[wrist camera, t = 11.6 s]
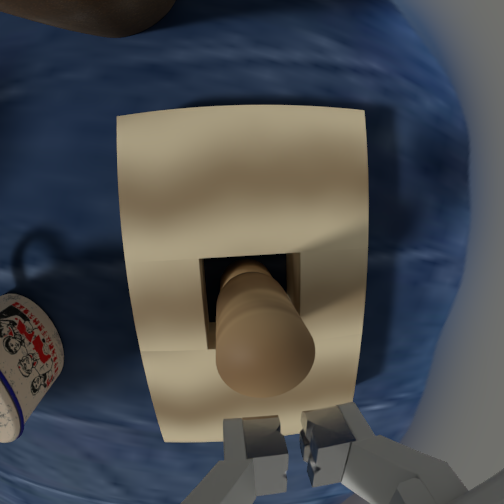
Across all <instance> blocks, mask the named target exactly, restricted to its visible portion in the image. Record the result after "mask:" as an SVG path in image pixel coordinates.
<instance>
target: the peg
mask: <svg viewBox="0 0 504 504" xmlns="http://www.w3.org/2000/svg"><path fill="white" fill-rule="evenodd" d="M314 360H315V344H314V340H313V338H312V336H311V334H310V332H309V330H308V329H307V327H306V325H305V324H304V322H303V320H302V319H301V317H300V316H299V314H298V312H297V311H296V309H295V307H294V306H293V304H292V302H291V301H290V299H289V298H288V296H287V294H286V293H285V291H284V289H283V288H282V286H281V285H280V284H279V283H278V282H277V281H276V280H275V279H273V277H272V276H271V274H270V272H269V271H268V269H267V268H266V267H265V266H264V265H263V264H262V263H261V262H259V261H257V260H254V259H249V258H244V259H239V260H236V261H234V262H232V263H231V264H229V265H228V266H227V267H226V268H225V270H224V271H223V273H222V275H221V278H220V293H219V295H218V299H217V304H216V367H217V370H218V373H219V375H220V377H221V379H222V380H223V381H224V382H225V384H227V385H228V386H229V387H230V388H231V389H233V390H234V391H236V392H238V393H240V394H242V395H245V396H249V397H255V398H267V397H274V396H277V395H281V394H283V393H286V392H288V391H290V390H291V389H293V388H295V387H296V386H297V385H299V384H300V383H301V382H302V381H303V380H304V379H305V378H306V376H307V375H308V374H309V372H310V370H311V368H312V366H313V363H314Z"/></svg>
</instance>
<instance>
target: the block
mask: <svg viewBox="0 0 504 504" xmlns="http://www.w3.org/2000/svg"><path fill="white" fill-rule="evenodd" d="M117 167H118V189H119V204H120V217H121V228H122V238H123V248H124V256H125V264H126V272H127V279H128V286H129V292H130V299H131V305H132V310H133V316H134V322H135V327H136V332H137V337H138V342H139V347H140V352H141V356H142V361H143V365H144V369H145V374H146V378H147V382H148V386H149V390H150V394H151V398H152V401H153V405H154V409H155V412H156V416H157V419H158V423H159V426H160V429H161V433H162V436H163V439H164V442H217V441H223V419H229V418H243V417H258V416H270V415H278V417H279V420H280V423H281V434H283V435H292V434H298V433H300V431H301V430H302V429H303V427H302V424H301V414H302V411H308V410H314V409H320V408H325V407H330V406H336V405H339V404H344V403H348V402H352V401H353V395H354V389H355V383H356V376H357V369H358V362H359V354H360V346H361V337H362V328H363V318H364V307H365V294H366V279H367V260H368V226H369V191H368V158H367V139H366V124H365V112H364V110H357V109H346V108H334V107H320V106H299V105H229V106H208V107H193V108H181V109H171V110H161V111H153V112H145V113H137V114H130V115H124V116H117ZM283 253H286V275H287V296H288V298H289V299H290V301H291V302H292V304H293V306H294V307H295V309H296V311H297V312H298V314H299V316H300V317H301V319H302V320H303V322H304V324H305V325H306V327H307V329H308V330H309V332H310V334H311V336H312V338H313V340H314V344H315V360H314V363H313V366H312V368H311V370H310V372H309V374H308V375H307V376H306V378H305V379H304V380H303V381H302V382H301V383H300V384H299V385H297V386H296V387H295V388H293V389H291V390H290V391H288V392H286V393H283V394H281V395H277V396H274V397H267V398H255V397H249V396H245V395H242V394H240V393H238V392H236V391H234V390H233V389H231V388H230V387H229V386H228V385H227V384H225V382H224V381H223V380H222V379H221V377H220V375H219V373H218V370H217V367H216V322H209V314H208V304H207V293H206V281H205V269H204V258H217V257H233V256H250V255H266V254H283Z"/></svg>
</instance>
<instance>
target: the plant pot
mask: <svg viewBox="0 0 504 504" xmlns="http://www.w3.org/2000/svg"><path fill="white" fill-rule="evenodd" d="M175 1H176V0H0V11H1V12H5V13H8V14H11V15H15V16H18V17H22V18H25V19H29V20H32V21H36V22H40V23H43V24H47V25H51V26H55V27H59V28H63V29H67V30H71V31H76V32H81V33H86V34H91V35H97V36H102V37H110V38H120V37H126V36H130V35H134V34H136V33H139V32H142V31H144V30H146V29H148V28H149V27H151V26H153V25H154V24H156V23H157V22H158V21H160V20H161V19H162V18H163V17H164V16H165V15H166V14H167V13H168V12H169V11H170V9H171V8H172V6H173V5H174V3H175Z"/></svg>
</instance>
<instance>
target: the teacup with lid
mask: <svg viewBox="0 0 504 504" xmlns="http://www.w3.org/2000/svg"><path fill="white" fill-rule="evenodd" d="M63 363H64V352H63V346H62V342H61V339H60V337H59V334H58V332H57V330H56V328H55V326H54V324H53V323H52V321H51V320H50V318H49V317H48V316H47V315H46V313H45V312H44V311H43V310H42V309H41V308H40V307H39V306H38V305H36V304H35V303H34V302H33V301H31V300H30V299H28V298H26V297H24V296H21V295H18V294H5V295H2V296H0V442H3V443H7V442H11V441H14V440H15V439H17V438H19V437H20V436H21V435H22V433H23V430H24V424H25V422H26V421H27V419H28V418H29V416H30V415H31V413H32V412H33V411H34V409H35V408H36V406H37V405H38V403H39V402H40V401H41V399H42V398H43V396H44V395H45V394H46V392H47V391H48V389H49V388H50V387H51V385H52V384H53V383H54V381H55V380H56V378H57V377H58V376H59V374H60V373H61V370H62V368H63Z"/></svg>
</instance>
